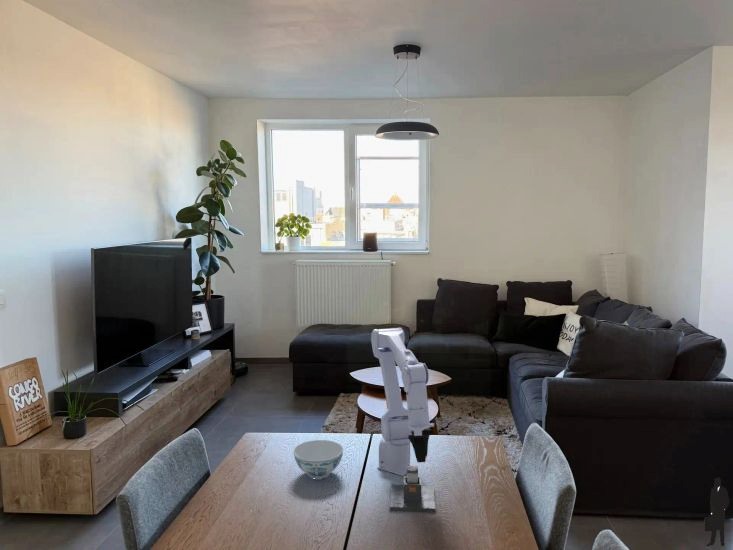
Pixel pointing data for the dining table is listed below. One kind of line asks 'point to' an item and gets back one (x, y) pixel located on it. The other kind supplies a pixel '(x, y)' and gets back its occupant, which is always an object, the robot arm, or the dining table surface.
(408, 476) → the column
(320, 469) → the chinaware
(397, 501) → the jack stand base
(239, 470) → the dining table surface
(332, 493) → the dining table surface
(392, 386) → the robot arm
